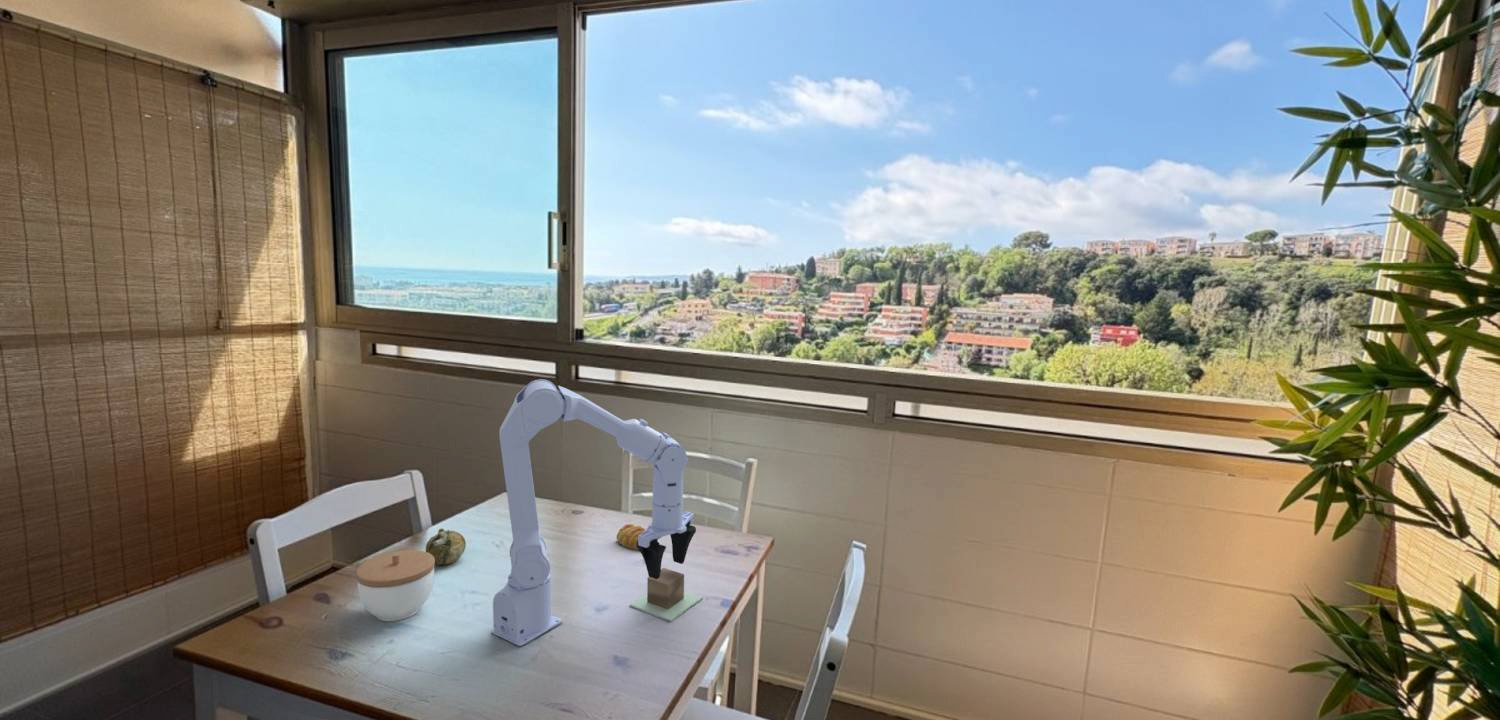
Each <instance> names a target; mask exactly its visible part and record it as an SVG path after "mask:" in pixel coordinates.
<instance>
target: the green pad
mask: <svg viewBox="0 0 1500 720" xmlns="http://www.w3.org/2000/svg"><path fill="white" fill-rule="evenodd" d="M701 599H702V600H703V599H704V598H703V596H701V595H698V594H695V593H692V592H689V591H687V590H684V599H682V600H681V601H679V602H678V603H677V604H675V605H674V606H672V607H671V608H670V609H665V608H662V607H659V606H657V605H654V604H651V603H648V602H647V592H646V593H645V594H643V595H641V596H640V597H638V598H637V599H635V600H634V601H632V602H631V603H629V607H631V608H634V609H636V610H639V611H642V612H644V613H647V614H649V615H651V616H654V617H658V618H659V619H663V620H665V621H667V620H669V621H668V622H670V621H672V622H673V621H674V620H675V618H676V617H677V618H678V617H680V616H681V615H682V614H681V613H683V612H684V611H685V612H687V611H688V610H690V607H691V606H692V607H693V605H694V604H695V603H696V604H698V603H699V602H701V601H702V600H701ZM698 601H699V602H698ZM697 602H698V603H697ZM696 604H695V605H696ZM695 605H694V606H695ZM692 607H691V608H692ZM687 609H688V610H687ZM686 610H687V611H686ZM685 612H684V613H685ZM684 613H683V614H684ZM680 614H681V615H680ZM679 615H680V616H679ZM677 618H676V619H677Z"/></svg>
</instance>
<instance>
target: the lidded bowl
mask: <svg viewBox="0 0 1500 720" xmlns="http://www.w3.org/2000/svg"><path fill="white" fill-rule="evenodd" d="M435 565H436V564H435V559H434V557H433V556H432V555H431V554H430V553H428V552H426V551H424V550H419V549H418V550H417V549H416V550H415V549H409V550H407V549H406V550H398V551H392V552H388V553H383V554H380V555H377V556H375V557H372V558H369V559H368V560H367V561H364V562H363V563H361V564H360V565H359V567H358V568H357V569H356V571H355V577H356V581H357V591H358V595H359V599H360V602H361V604H362V605H363V607H364V609H365V610H366V611H367V612H368V613H370V615H373V616H374V617H376V618H377V619H378V620H379V621H382V622H397V621H401V620H405V619H408V618H410V617H412V616H414V615H416V614H417V613H418V612H419V611H420V610H421V607H422V606H423V605H424V604H425V603H426V602H427V600H428V599H429V597H430V595H431V593H432V590H433V588H434V583H435V582H434V581H435Z"/></svg>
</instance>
